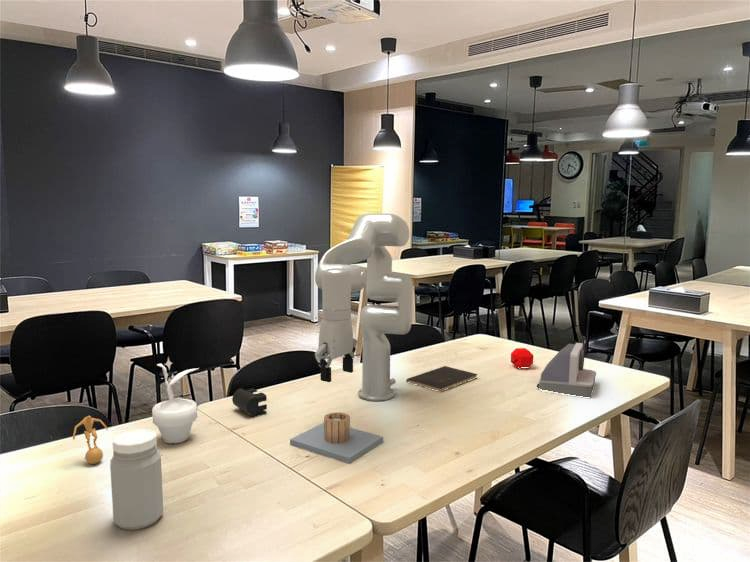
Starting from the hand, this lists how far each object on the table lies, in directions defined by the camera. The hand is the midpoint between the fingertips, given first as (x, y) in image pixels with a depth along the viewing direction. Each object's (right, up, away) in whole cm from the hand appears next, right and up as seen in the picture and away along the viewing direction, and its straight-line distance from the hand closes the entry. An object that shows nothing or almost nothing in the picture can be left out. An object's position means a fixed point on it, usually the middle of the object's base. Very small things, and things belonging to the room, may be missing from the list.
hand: (337, 376), depth 152 cm
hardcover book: (+36, -12, +59) cm, 70 cm away
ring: (0, -17, +2) cm, 17 cm away
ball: (+70, -10, +76) cm, 104 cm away
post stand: (0, -19, +2) cm, 19 cm away
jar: (-39, -24, -35) cm, 58 cm away
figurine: (-61, -20, -10) cm, 65 cm away
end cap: (-29, -16, +25) cm, 42 cm away
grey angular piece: (+80, -13, +52) cm, 96 cm away
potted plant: (-45, -18, +4) cm, 48 cm away
